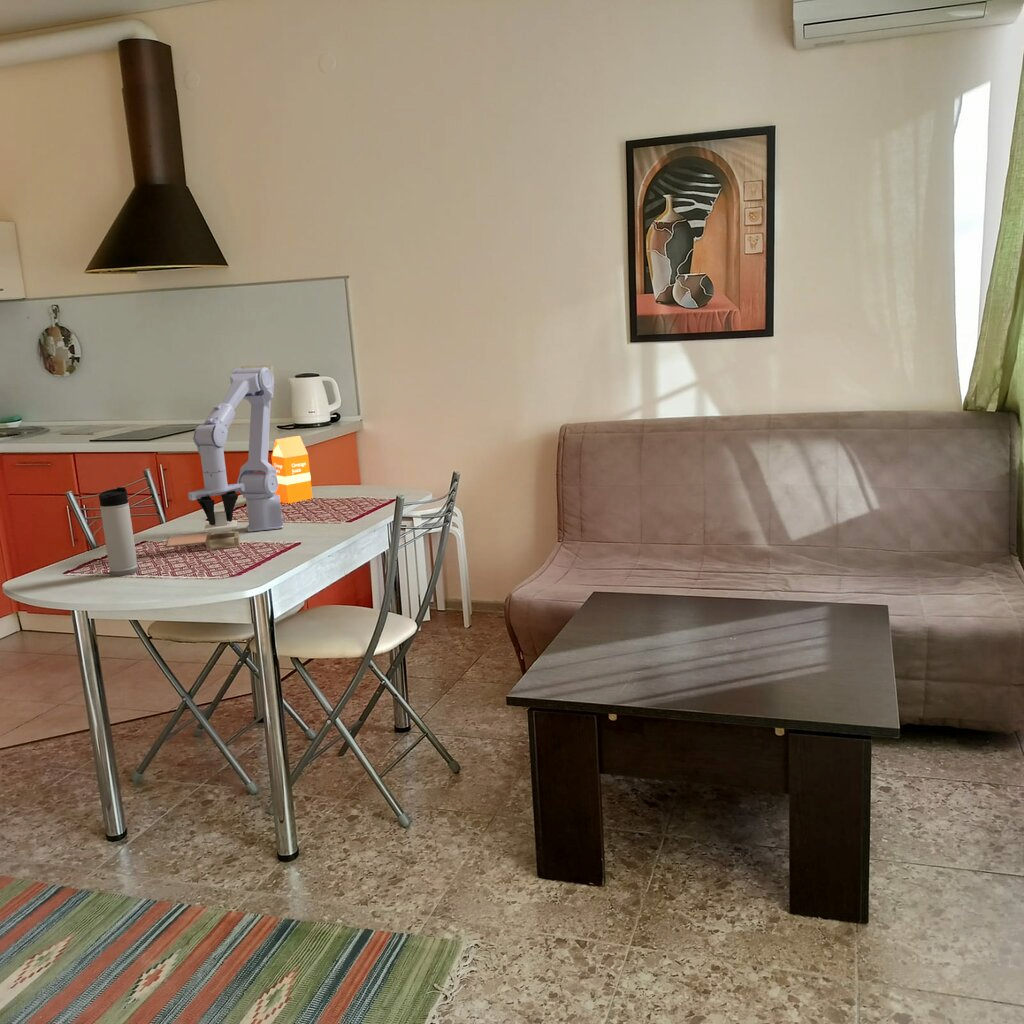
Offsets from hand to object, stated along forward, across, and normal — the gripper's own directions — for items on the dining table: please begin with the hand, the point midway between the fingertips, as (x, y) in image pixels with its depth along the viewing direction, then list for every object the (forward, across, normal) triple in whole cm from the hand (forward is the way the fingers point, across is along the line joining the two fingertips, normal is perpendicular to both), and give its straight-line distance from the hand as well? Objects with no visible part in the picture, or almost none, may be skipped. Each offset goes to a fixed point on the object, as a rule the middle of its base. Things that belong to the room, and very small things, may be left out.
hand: (220, 522), depth 253 cm
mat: (+6, +3, -13) cm, 15 cm away
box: (+6, 0, 0) cm, 6 cm away
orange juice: (+6, -43, -38) cm, 58 cm away
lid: (+1, 0, 0) cm, 1 cm away
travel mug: (+6, +28, +6) cm, 29 cm away
